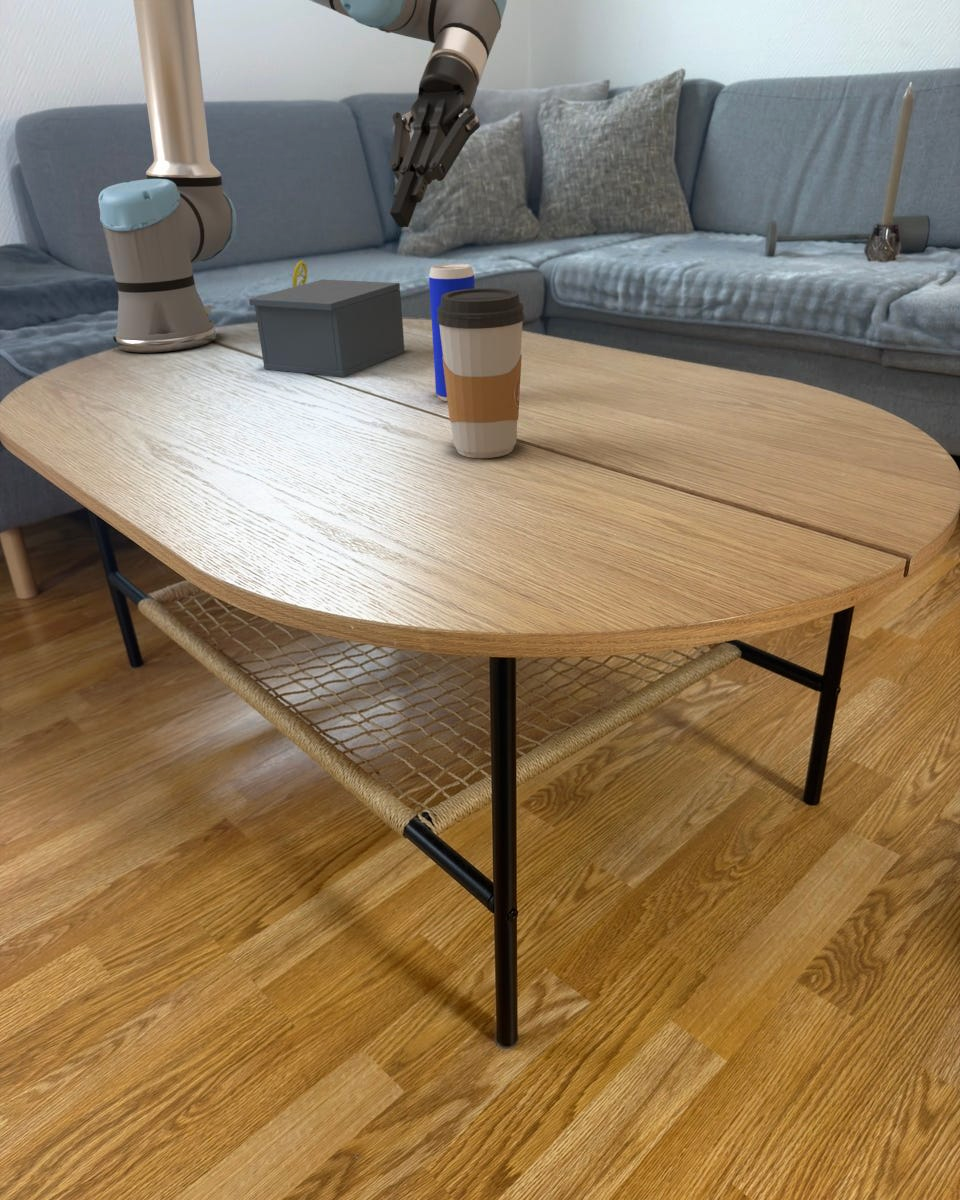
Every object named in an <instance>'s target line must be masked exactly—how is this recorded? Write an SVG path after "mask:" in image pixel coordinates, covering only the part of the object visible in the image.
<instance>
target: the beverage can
mask: <svg viewBox="0 0 960 1200" xmlns="http://www.w3.org/2000/svg"><path fill="white" fill-rule="evenodd" d="M428 281H429V283H428V284H429V301H430V315H431V317H430V318H431V330H432V331H431V333H432V335H431V336H432V348H433V349H432V350H433V351H432V353H433V367H434V381H435V383H434V384H435V394H436V395H437V397H438V398H439V399H440V400H441V401H442V402H443V401H444V402H448V401H447V392H446V384H445V376H444V367H443V359H442V357H443V351H442V342H441V334H440V325H439V324H438V323H437V318H438V311H437V310H438V307H439V306H441V296H442V295H443V294H445V293H447V292H452V291H457V290H464V289H476V288H475V273H474V270H473V266H472V265H471V264H469V263H457V262H455V263H442V264H436V265H435V264H434V265H432V266H431V267H430V270H429V275H428Z"/></svg>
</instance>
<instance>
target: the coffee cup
mask: <svg viewBox="0 0 960 1200" xmlns="http://www.w3.org/2000/svg"><path fill="white" fill-rule="evenodd" d="M523 310H524V304H523V303H521V300H520V294H519V292H518V291H516V290H513V289H509V288H508V289H507V288H497V287H495V288H494V287H480V288H479V287H477V288H475V289H464V290H457V291H452V292H447V293H445V294H443V295H442V296H441V306H439V307H438V310H437V311H438V318H437V323H438V324H439V325H440V334H441V342H442V351H443V357H442V359H443V367H444V376H445V384H446V392H447V401H446V402H447V407H448V408H447V409H448V417H449V423H450V425H451V434H452V442H453V444H452V445H453V447H455V448H456V449H455V450H456V452H457V453H458V454H459V455H461V456H464V457H466V458H472V459H493V458H499V457H503V456H506V455H509V454H510V453H511V452H513V451H514V447H515V445H516V444H517V434H518V420H519V415H520V413H519V412H520V395H521V394H520V393H521V392H520V391H521V378H522V377H521V376H522V356H523V354H522V341H523V340H522V338H523V321H525V319H526V317H525V313H524V311H523Z"/></svg>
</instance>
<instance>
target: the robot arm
mask: <svg viewBox="0 0 960 1200" xmlns="http://www.w3.org/2000/svg"><path fill="white" fill-rule="evenodd" d="M132 1H133V8H134V15H135V23H136V30H137V32H136V33H137V39H138V46H139V52H140V54H139V55H140V62H141V70H142V76H143V84H144V92H145V100H146V106H147V114H148V123H149V129H150V137H151V144H152V145H151V146H152V152H153V162H152V164H151V165H150V166H149V167H148V169H147V170H146V172H145V175H146V178H145V179H137V180H130V181H128V182H119V183H116V184H112V185H110V186H107V187H106V188H103V189H102V190H101V191H100V193H99V194H98V197H97V198H98V199H97V201H98V207H99V219H100V223H101V225H102V228H103V232H104V233H103V234H104V238H105V242H106V245H107V250H108V253H109V259H110V264H111V268H112V271H113V276H114V280H115V284H116V289H117V294H118V303H117V304H118V305H117V327H116V330H115V335H114V336H112V340H113V341H114V342H116V344H117V348H118V349H119V350H120V351H121V350H122V351H124V352H131V353H162V352H163V353H164V352H173V351H181V350H187V349H192V348H196V347H201V346H205V345H207V344H209V343H212V342H214V341H215V340H216V339H217V333H216V326H215V324H214V322H213V320H212V319H211V318H210V317H209V314H211V313H212V308H211V304H208V305H204V302H203V301H202V299H201V297H200V294H199V293H198V290H197V288H196V281H195V277H194V270H193V265H192V264H196V263H199V262H206V261H209V260H213V259H214V258H216V257H217V256H218V255H221V254H222V253H224V252H225V251H226V250H227V249H228V248H229V247H230V246H231V244H232V243H233V241H234V239H235V236H236V233H237V227H238V218H237V212H236V209H235V206H234V204H233V201H232V200H231V198H229V196H228V195H227V194H226V192H225V191H224V188H223V179H222V178H223V177H222V173H221V172H220V171H219V170H218V169H217V168H216V166H214V165H213V164H212V161H211V157H210V147H209V139H208V138H209V136H208V129H207V119H206V118H207V117H206V107H205V100H204V99H205V98H204V90H203V89H204V88H203V81H202V70H201V61H200V52H199V51H200V50H199V43H198V41H199V40H198V32H197V23H196V22H197V21H196V13H195V4H194V0H132ZM309 1H310V2H312V3H315V4H318V5H319V6H320V5H321V6H322V7H325V8H328V9H329V10H332V11H335V12H337V13H338V14H341V15H343V16H346V17H348V18H350V19H352V20H354V21H355V22H357V23H359V24H361V25H364V26H367V27H369V28H373V29H377V30H379V31H381V32H385V33H387V34H391V33H392V34H396V35H400V36H404V37H408V38H412V39H417V40H421V41H426V42H430V43H432V44H433V47H432V49H431V52H430V54H429V56H428V59H427V63H426V66H425V68H424V69H423V70H424V71H423V73H422V75H421V79H420V81H419V84H418V92H417V93H418V95H417V99H416V100H415V101H414V102H413V104H412V105H411V107H410V111H408V112H406V113H405V114H401V113H400V112H398V111H397V112H395V113H393V115H392V121H393V124H394V131H393V139H392V144H391V145H392V146H391V154H390V159H389V160H390V162H389V168H390V170H391V172H392V173H393V175H394V176H395V178H396V180H397V182H396V185H395V186H394V187H395V188H394V189H393V196H394V200H393V203H392V205H391V208H390V210H389V214H390V216H391V217H392V219H393V221H394V222H395V223H396V225H397V227H398V228H409V226H410V223H411V221H412V218H413V215H414V212H415V210H416V207H417V204H418V203H421V202H422V201H423V200H424V196H425V195H426V191H427V189H428V186H429V185H430V184H431V183H432V181H434V180H437V181H438V182H441V181H443V180H444V179H445V178H446V176H447V175H448V173H449V171H450V169H451V168H452V166H453V164H454V163H455V162H456V160H457V159H458V156H459V155H460V153H461V152H462V150H463V148H464V147H465V145H466V143H467V142H468V140H469V139H470V137H471V136H472V135H473V134H474V133H475V132H476V131H477V130H478V129H479V128H480V127H481V122H480V121H479V118H478V115H477V114H476V111H475V109H474V108H472V105H473V102H474V99H475V96H476V94H477V89H478V87H479V84H480V81H481V79H482V76H483V73H484V71H485V68H486V65H487V62H488V60H489V56H490V54H491V51H492V49H493V46H494V43H495V41H496V38H497V36H498V33H499V32H500V30H501V28H502V20H503V17H504V13H505V10H506V6H507V2H508V1H507V0H309ZM412 127H413V128H412ZM412 132H413V133H412ZM411 133H412V136H411Z"/></svg>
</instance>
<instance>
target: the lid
mask: <svg viewBox="0 0 960 1200" xmlns="http://www.w3.org/2000/svg"><path fill="white" fill-rule="evenodd" d="M396 290H401V285H400V282H386V281H385V282H384V281H365V280H363V281H362V280H342V279H341V280H340V279H319V280H315V281H312V282H308V283H307V282H306V283H305V284H303V285H302V284H300V286H298V285H297V286H296V287H293V286H292V287H289V288H285V289H281V290H277V291H274V292H269V293H266V294H262V295H259V296H254V297H250V298H248V303H249V306H254V307H255V306H271V307H286V308H302V309H317V310H335V309H338V308H341V307H344V306H347V305H351V304H354V303H357V302H360V301H363V300H367V299H370V298H373V297H376V296H379V295H383V294H386V293H389V292H392V291H396Z"/></svg>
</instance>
